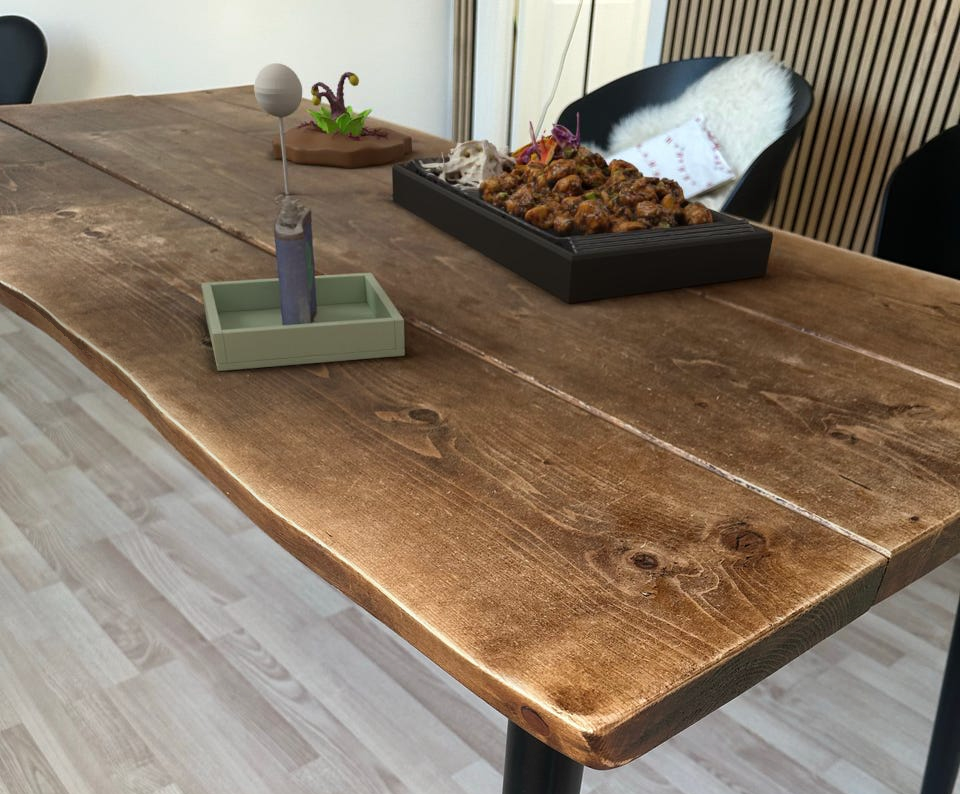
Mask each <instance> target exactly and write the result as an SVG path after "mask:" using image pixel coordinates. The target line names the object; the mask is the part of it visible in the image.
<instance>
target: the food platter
mask: <svg viewBox="0 0 960 794" xmlns="http://www.w3.org/2000/svg"><path fill="white" fill-rule="evenodd" d="M576 117H577V118H576V121H577V123H576V133H575V135H574V134H573V133H572V131H570V130H569V129H568V128H567V127H566V126H564V125H561V124H556V123H551V125H552V127H553V128H552V129H551V130H550V133H551V134H550V135H546V136H545V135H544V134H545V133H546V129H544V131H543V134H541V139H539V140H536V139H537V138H536V135H535V130H534V126H533V122H532V121H531V120H529V121H528V123H529V135H530V139H531V142H529V143H526V144H525V145H523V146H522V147H520V148H517V149H516V150H514V151H511V152H510V147H509V145H505V147H501V148H498V149H497V146H496V145H495V144H493V143H492V142H489V140H488V139H482V140H478V139H477V140H475V139H474V140H468V141H465V142H462V143H461V142H457V144H456V147H455V148H451V149H449V151H450V153H448V154H447V156H444V153H443V151H441V156H435V157H418V158H417V157H415V158H413V159H411V160H410V161H409V162H404V163H403V162H401V163H393V164H392V166H391V177H392V178H391V180H392V182H391V183H392V202H393V203H394V204H397V205H398V206H400V207H402V208H403V209H405V210H407V211H409V212H411V213H412V214H413V215H416V216H417V217H419V218H421V219H423V220H424V221H426V222H427V223H428V224H431V225H433V226H434V227H436V228H438V229H440V230H441V231H443V232H444V233H446V234H448V235H450V236H452V237H453V238H454V239H456V240H458V241H460V242H462V243H464V244H465V245H467V246H469V247H470V248H473V250H476V251H477V252H479V253H481V254H483V255H484V256H486V257H488V258H489V259H491V260H493V261H495V262H496V263H498V264H500V265H501V266H503V267H505V268H507V269H508V270H510V271H511V272H513V273H515V274H517V275H519V276H520V277H522V278H524V279H525V280H527V281H529V282H530V283H532V284H534V285H536V286H538V287H539V288H541V289H542V290H545V291H546V292H548V293H550V294H551V295H553V296H555V297H556V298H558V299H560V300H562V301H564V302H565V303H567V304H574V303H581V302H589V301H596V300H602V299H610V298H616V297H625V296H631V295H638V294H639V295H640V294H646V293H653V292H660V291H666V290H675V289H681V288H689V287H694V286H703V285H709V284H710V285H711V284H717V283H724V282H731V281H739V280H745V279H752V278H753V279H754V278H759V277H766V275H767V269H768V265H769V259H770V255H771V249H772V244H773V238H774V233H773V231H771V230H768V229H766V228H763V227H760V226H758V225H755V224H753V223H750V222H749V220H748V219H746V218H743V219H742V218H741V219H738V218H735V217H733V216H730V215H727V214H725V213H723V212H719V211H717V210H714V209H711V208H708V207H707V206H706V205H705V204H704V203H702V202H701V201H698V200H697V201H696V200H695V201H694V202H692V201H690V200H688V199H687V198H685V194H684V189H683V187H682V186H681V185H680V184H679V182H678V181H676V180H675V179H674V178H673V179H670V178H667V177H662V178H660V177H657V176H644V173H643V172H642V171H639V169H638V167H636V166H635V165H634V163H631V162H629V161H626V160H624V159H616V158H613V159H611V161H610V162H609V164H608V163H607V160H606V159H604V157H603V156H602V155H601V154H600V153H599V152H592V151H591V150H589V149H587V148H586V147H585V146H582V144H581V140H582V137H581V131H580V112H579V111H577V113H576ZM674 180H675V181H674Z"/></svg>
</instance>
